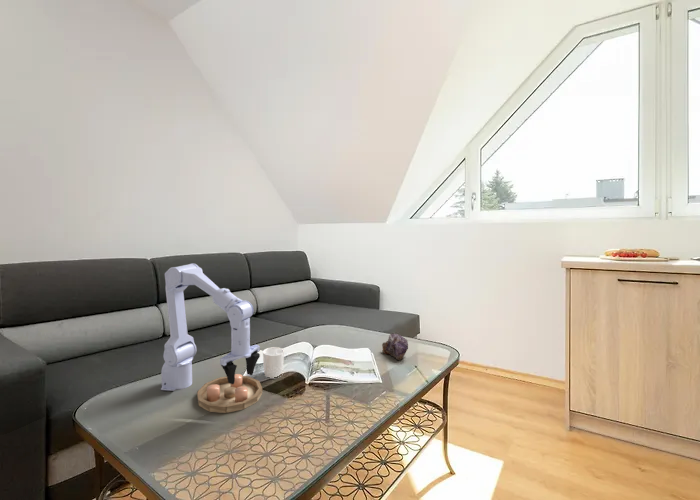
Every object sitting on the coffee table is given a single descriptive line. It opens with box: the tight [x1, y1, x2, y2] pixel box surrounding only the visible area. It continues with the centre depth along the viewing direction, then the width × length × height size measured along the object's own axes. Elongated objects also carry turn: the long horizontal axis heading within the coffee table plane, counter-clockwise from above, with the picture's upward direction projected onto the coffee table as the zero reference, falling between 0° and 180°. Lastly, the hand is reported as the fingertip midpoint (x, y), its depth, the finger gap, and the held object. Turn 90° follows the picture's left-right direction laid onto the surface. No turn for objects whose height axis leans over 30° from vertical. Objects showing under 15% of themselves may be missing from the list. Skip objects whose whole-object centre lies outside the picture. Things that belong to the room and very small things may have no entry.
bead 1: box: [207, 384, 220, 402], centre depth 125 cm, size 4×4×4 cm
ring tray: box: [197, 375, 263, 414], centre depth 128 cm, size 20×20×3 cm
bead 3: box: [235, 386, 248, 403], centre depth 124 cm, size 4×4×4 cm
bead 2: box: [231, 373, 243, 388], centre depth 133 cm, size 4×4×4 cm
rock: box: [381, 333, 409, 361], centre depth 166 cm, size 12×9×10 cm
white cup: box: [262, 346, 285, 379], centre depth 143 cm, size 8×8×10 cm
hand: (240, 378), depth 124 cm, fingers open, 7 cm apart
